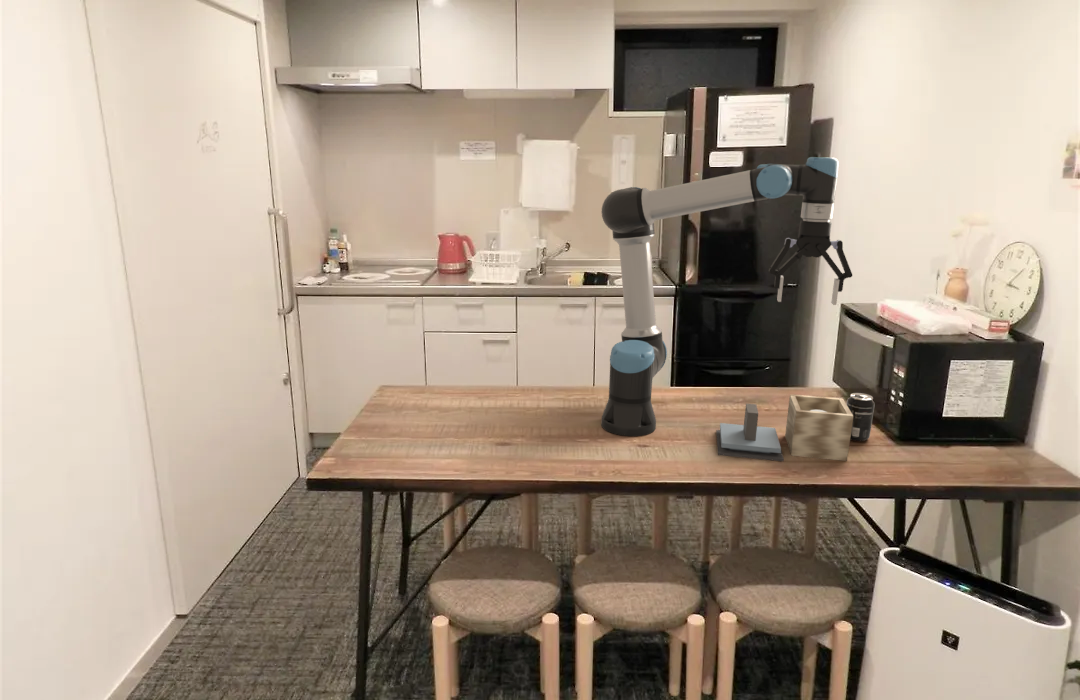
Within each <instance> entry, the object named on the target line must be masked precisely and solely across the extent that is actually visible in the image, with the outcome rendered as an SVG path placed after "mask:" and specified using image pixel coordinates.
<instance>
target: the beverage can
mask: <svg viewBox="0 0 1080 700" xmlns="http://www.w3.org/2000/svg"><path fill="white" fill-rule="evenodd" d="M849 396H850V397H848V398H847V400H846V404H847V406H848V408H849V409H850V411H851V413H852V415H853V423H852V430H851V437H850V441H853V442H865V441H867V440H869V439H870V437H871V431H872V424H873V418H874V411H875V402H874V401H873V399H874V397H873V396H872V395H870V394H867V393H863V392H862V393H861V392H853V393H850V395H849Z"/></svg>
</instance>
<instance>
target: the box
mask: <svg viewBox="0 0 1080 700" xmlns="http://www.w3.org/2000/svg"><path fill="white" fill-rule="evenodd" d="M810 410H823V411H826V412H818V411H810ZM786 417H787V418H786V425H785V434H784V437H785V439H786V440H785V441H786V443H787V446H788V449H789V454H790V456H791V457H803V458H811V459H812V458H814V459H823V460H824V459H825V460H834V461H844V462H845V461H846V462H847V461H848V455H849V449H850V442H851V440H850V437H851V430H852V423H853V415H852V413H851V411H850V409H849V408H848V406H847V402H846V401H845V400H844V398H841V397H839V398H838V397H827V396H818V395H817V396H814V395H805V394H804V395H802V394H791V393H790V394H789V401H788V408H787V416H786Z"/></svg>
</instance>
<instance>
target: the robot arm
mask: <svg viewBox="0 0 1080 700" xmlns="http://www.w3.org/2000/svg"><path fill="white" fill-rule="evenodd" d="M839 165H840V164H839V160H838V159H837V158H836V157H823V156H821V157H820V156H819V157H816V156H810V157H808V158H807V159H806V162H805V164H783V163H782V164H779V163H767V164H765V163H763V164H759V165H758V166H757V167H756V168H755V169H748V170H745V171H740V172H735V173H731V174H725V175H719V176H715V177H710V178H706V179H701V180H695V181H690V182H686V183H683V184H682V183H681V184H677V185H672V186H667V187H662V188H658V189H654V190H653V189H652V190H650V189H649V188H646V187H642V188H640V187H638V186H635V187H634V186H630V187H626V188H621V189H617V190H616V189H615V190H613V192H611V193H610V194H608V195H607V196H606V197H605V199H604V201H603V203H602V207H601V218H602V221H603V222H604V224H605V225H606V227H607V228H608V229H610V230H611V231H612V240H613V241H614V242H616V243H617V244H618V247H619V248H618V249H619V258H620V259H619V260H620V270H621V273H620V275H621V282H622V283H621V284H622V294H623V295H622V296H623V307H624V318H625V319H624V320H625V328H624V329H623V330H622V332H621V334H620V336H621V341H619V342H617V343H616V344H614V345H613V346H612V348H611V350H610V355H609V383H608V399H607V402H606V404H605V407H604V410H603V412H602V415H601V423H600V424H601V427H602V429H603V430H605V431H606V432H609V433H611V434H615V435H619V436H625V437H640V436H647V435H650V434H652V433H653V432H654V431H655V430H656V429H657V427H656V426H657V419H656V415H655V411H654V407H653V403H652V390H653V379H654V377H655V376H656V375H657V374H658V372H660V371H661V370H662V368H664V365H665V363H666V360H667V356H668V353H667V352H668V350H667V349H668V348H667V345H666V344H665V342H664V340H663V330H662V329H661V328H660V327H659V326H658V325H657V322H656V320H657V319H656V308H655V307H656V305H655V293H654V292H655V291H654V281H653V280H654V279H653V269H652V268H653V267H652V256H651V255H652V254H651V240H652V239H653V238H654V237H655V234H656V233H655V222H656V221H659V220H664V219H669V218H675V217H679V216H685V215H690V214H696V213H701V212H705V211H710V210H711V211H712V210H716V209H720V208H726V207H731V206H736V205H741V204H742V205H743V204H746V203H752V202H757V201H758V202H759V201H762V200H763V201H764V200H768V199H771V200H772V199H777V198H781V197H783V196H802V203H801V212H800V218H801V219H802V220H800V222H799V228H798V237H797V238H796V239H794V238H790V237H786V238H784V243H783V246H782V248H780V249H781V250H780V251H779V252H778V254H777V256H776V257H775V259H774V260H773V262H772V264H771V265H770V267H769V268H768V272H769V274H772V275H774V284H773V285H774V286H773V287H774V288H775V289H777V295H776V298H777V299H776V300H777V302H778V303H782V297H783V296H782V295H783V287H784V280H785V279H784V275H783V274H784V273H785V272H786V271H787V270H788V269H790V267H791V266H793V265H794V264H795V263H796V262H797V261H798V260H799V259H801V258H802V256H804V257H806V258H811V257H813V258H820V257H823V259H824V260H825V262H826V263H827V264H828V265H829V267H830V268H831V270H832V271H833V272H834V274H835V276H837V277H834V280H833V285H832V286H833V287H832V294H831V295H832V296H831V301H830V303H831V305H833V306H837V302H838V293H841V292H842V291H843V289H844V281H845V280H846V279H848V278H850V279H851V278H852V277H853V271H852V270H851V267H850V265H849V263H848V260H847V257H846V254H845V253H844V249H843V248H844V247H843V241H842V240H840V239H836V240H831V231H832V222H831V221H830V220H833V214H834V206H835V205H834V204H835V199H836V198H835V197H836V191H837V184H838V176H839V174H838V173H839ZM795 245H796V247H797V248H798V249H797V250H796V251H795V252H794V254H792V255H791V257H789V258H788V259H787V260H786V262H784V263H783V264H782V265H781V266H780V264H781V263H782V261H783V259H784V258H785V256H786V255H787V253H788V251H789V250H790V248H793V246H795ZM831 246H832V248H833V250H835V251H836V253H837V256H838V259H839V261H840V264H841V266H842V269H843V271H844V272H842V271H841V270H840V269H839V267H838V265H837V264H836V263H835V262H834V260H833V259H832V258H831V256H830V255H829V253H828V252H827V251H828V250H829V248H830V247H831ZM779 266H780V267H779ZM778 267H779V268H778Z"/></svg>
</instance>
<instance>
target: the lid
mask: <svg viewBox="0 0 1080 700" xmlns="http://www.w3.org/2000/svg"><path fill="white" fill-rule="evenodd" d="M758 420H759V410H758V406H757V404H756V403H745V412H744V420H743V424H736V423H735V424H734V423H723V422H720V423H719V430H720V435H721V447H722V448H730V449H731V450H741V451H751V452H762V453H770V452H773V453H781V451H782V447H781V444H780V440H779V437H778V433H777V430H776V427H771V426H770V427H769V426H768V427H767V426H759V425H758V422H759V421H758Z"/></svg>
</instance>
